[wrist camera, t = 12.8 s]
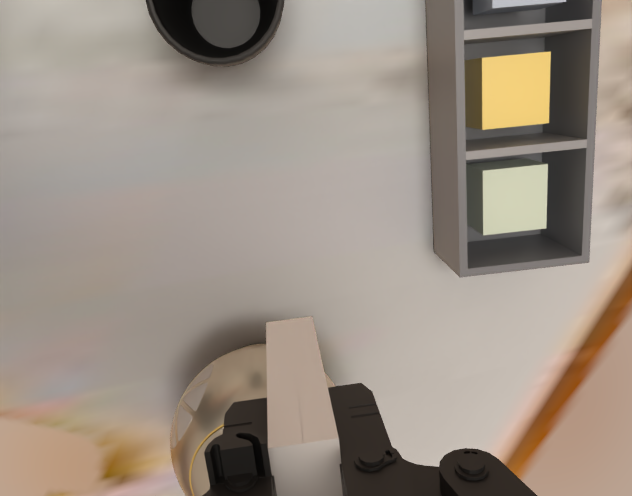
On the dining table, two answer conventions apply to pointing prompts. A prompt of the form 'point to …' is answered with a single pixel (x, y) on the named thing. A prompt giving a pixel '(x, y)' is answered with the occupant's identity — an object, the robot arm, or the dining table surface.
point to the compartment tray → (514, 131)
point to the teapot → (214, 410)
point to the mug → (217, 27)
